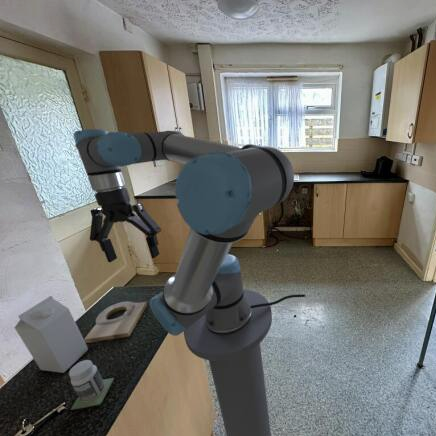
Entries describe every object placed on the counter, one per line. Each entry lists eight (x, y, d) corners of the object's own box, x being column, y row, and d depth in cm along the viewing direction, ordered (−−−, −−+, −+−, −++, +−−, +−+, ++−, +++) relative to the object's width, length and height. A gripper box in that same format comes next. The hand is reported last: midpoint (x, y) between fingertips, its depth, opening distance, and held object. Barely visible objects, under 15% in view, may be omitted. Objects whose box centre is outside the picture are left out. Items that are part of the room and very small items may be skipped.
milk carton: (40, 370, 62) (6, 314, 55) (67, 347, 69) (39, 294, 62) (63, 373, 61) (31, 317, 54) (89, 349, 68) (63, 296, 61)
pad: (114, 379, 60) (113, 377, 59) (100, 404, 54) (99, 403, 54) (88, 383, 59) (87, 382, 59) (71, 410, 53) (70, 408, 53)
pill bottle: (96, 379, 59) (84, 355, 56) (110, 385, 58) (98, 360, 55) (75, 399, 55) (61, 374, 52) (89, 405, 53) (75, 380, 50)
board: (149, 301, 86) (148, 298, 85) (129, 336, 72) (127, 333, 71) (108, 307, 84) (107, 303, 84) (79, 344, 70) (78, 340, 69)
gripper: (161, 182, 68) (179, 249, 75) (79, 191, 70) (104, 256, 76) (145, 187, 61) (167, 260, 67) (54, 197, 62) (84, 268, 69)
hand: (134, 258), depth 72 cm, fingers open, 13 cm apart
